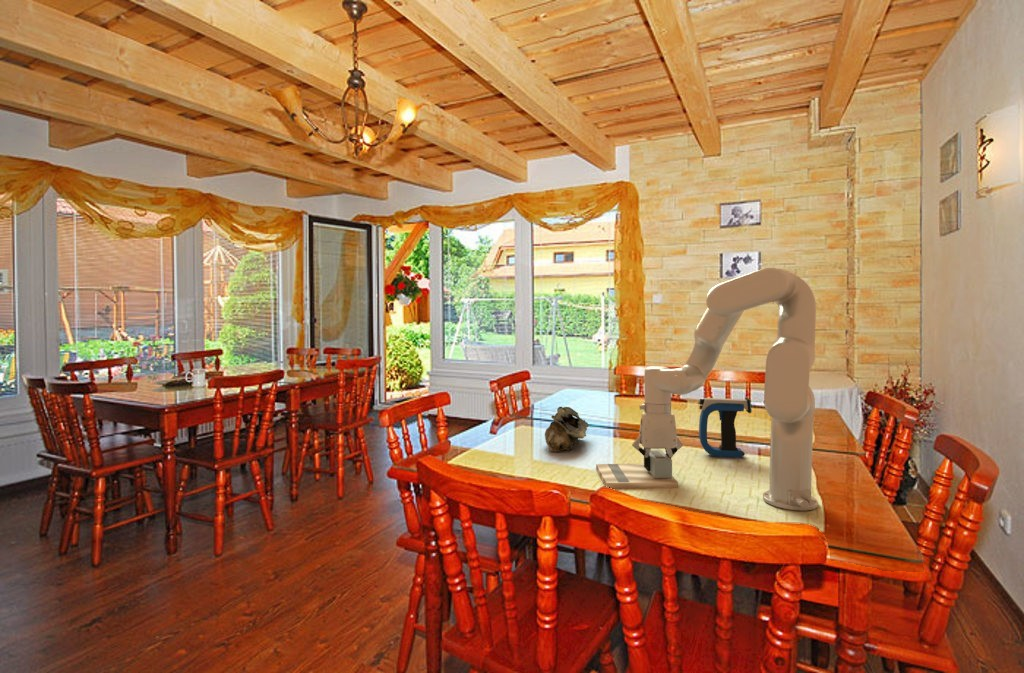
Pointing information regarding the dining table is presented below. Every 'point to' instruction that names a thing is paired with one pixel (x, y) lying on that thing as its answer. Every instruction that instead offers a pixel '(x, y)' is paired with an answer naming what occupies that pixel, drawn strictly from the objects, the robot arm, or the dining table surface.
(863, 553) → the dining table surface
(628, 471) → the subfloor panel
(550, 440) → the hollow geode rock
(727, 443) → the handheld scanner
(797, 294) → the robot arm
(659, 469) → the block
